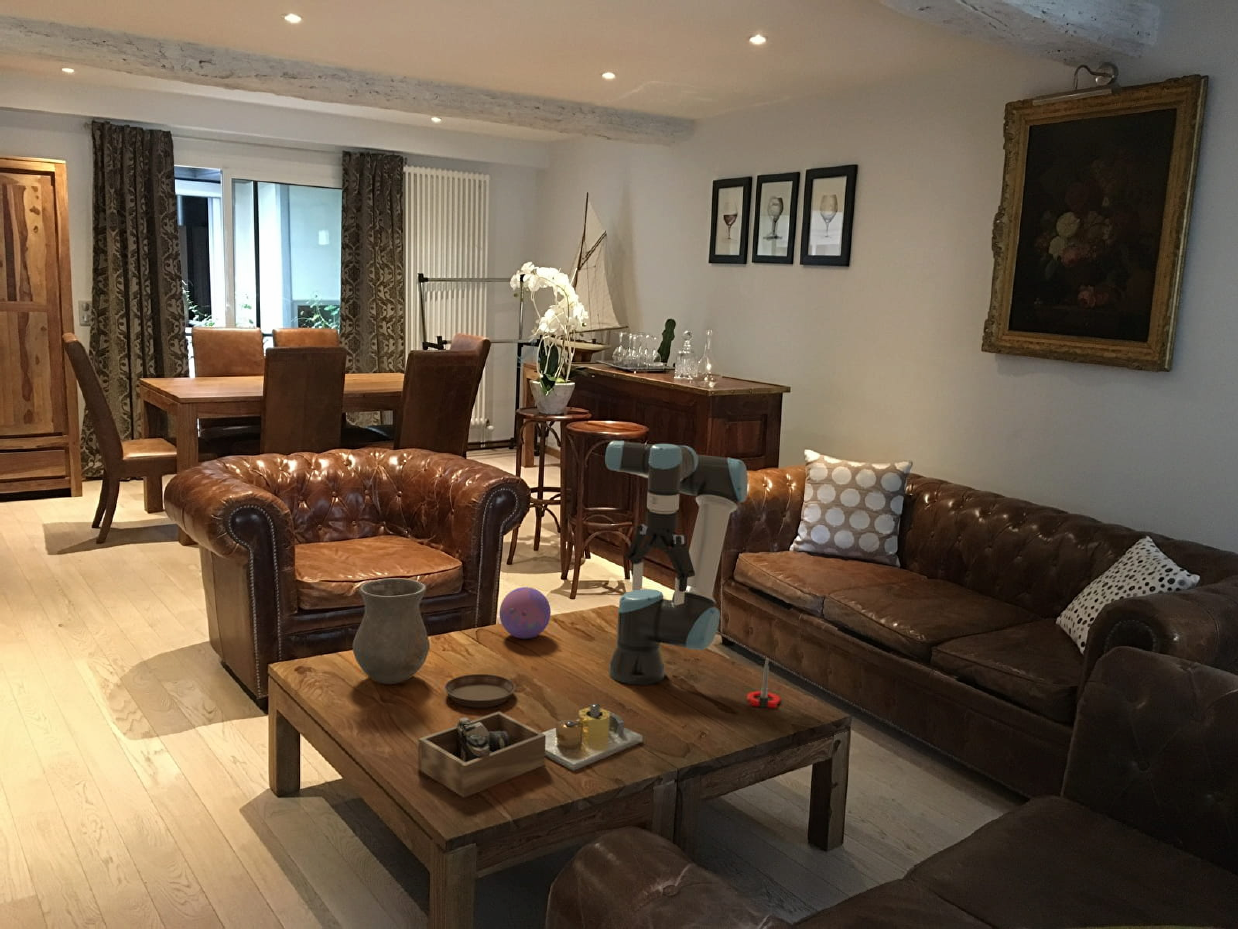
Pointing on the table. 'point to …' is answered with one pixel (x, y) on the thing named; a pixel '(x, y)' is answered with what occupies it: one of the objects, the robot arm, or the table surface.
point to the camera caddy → (487, 770)
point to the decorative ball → (525, 612)
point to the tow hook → (764, 693)
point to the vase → (391, 630)
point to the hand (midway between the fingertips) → (657, 596)
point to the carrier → (578, 752)
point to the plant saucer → (479, 690)
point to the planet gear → (594, 725)
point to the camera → (478, 740)
